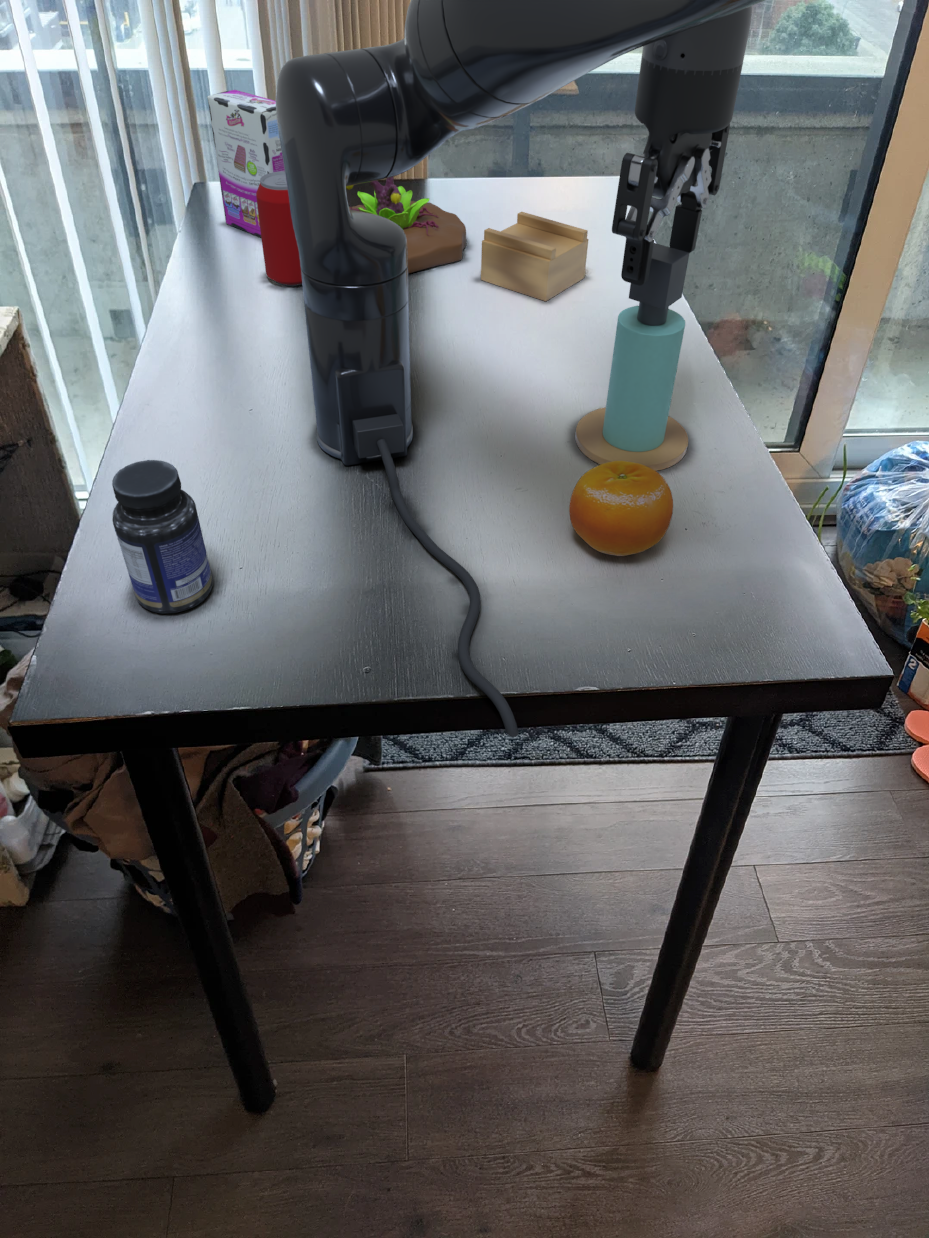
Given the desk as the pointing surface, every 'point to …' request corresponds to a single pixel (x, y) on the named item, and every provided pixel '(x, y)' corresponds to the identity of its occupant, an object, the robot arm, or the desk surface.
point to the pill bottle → (160, 537)
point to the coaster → (603, 452)
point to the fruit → (621, 507)
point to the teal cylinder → (646, 356)
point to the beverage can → (278, 230)
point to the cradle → (534, 256)
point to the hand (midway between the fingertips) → (658, 266)
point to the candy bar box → (244, 152)
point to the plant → (417, 225)
